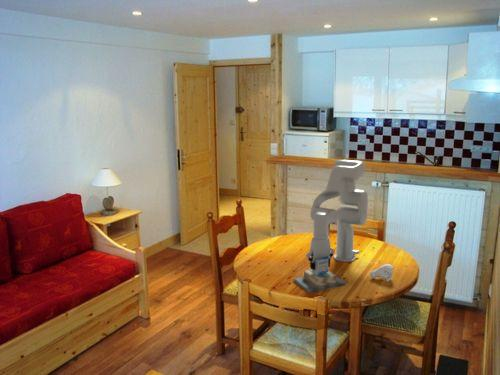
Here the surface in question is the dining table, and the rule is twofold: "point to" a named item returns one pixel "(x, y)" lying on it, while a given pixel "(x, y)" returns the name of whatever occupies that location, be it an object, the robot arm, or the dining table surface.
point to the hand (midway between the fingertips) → (320, 267)
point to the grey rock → (383, 272)
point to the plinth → (314, 289)
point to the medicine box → (321, 265)
